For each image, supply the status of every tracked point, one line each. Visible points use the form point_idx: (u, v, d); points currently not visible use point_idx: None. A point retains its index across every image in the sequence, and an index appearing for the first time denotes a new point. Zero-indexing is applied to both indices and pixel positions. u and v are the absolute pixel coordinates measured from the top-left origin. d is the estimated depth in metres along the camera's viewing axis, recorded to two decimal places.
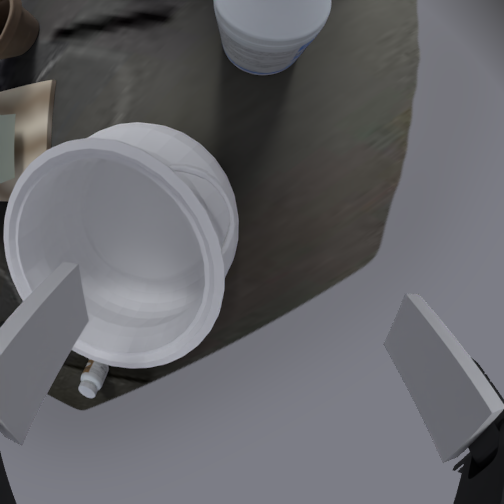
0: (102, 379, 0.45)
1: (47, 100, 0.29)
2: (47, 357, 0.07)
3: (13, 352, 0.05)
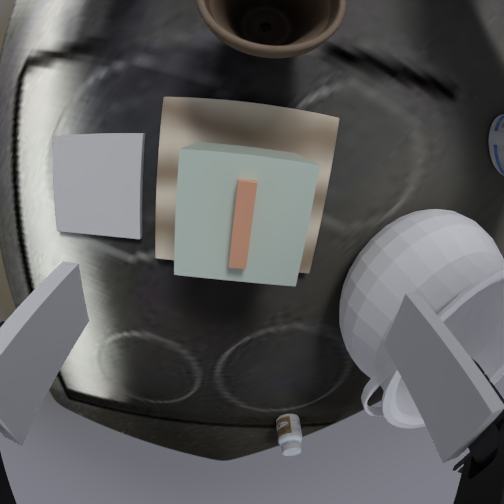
0: (301, 434, 0.45)
1: (331, 144, 0.28)
2: (47, 358, 0.07)
3: (13, 352, 0.05)
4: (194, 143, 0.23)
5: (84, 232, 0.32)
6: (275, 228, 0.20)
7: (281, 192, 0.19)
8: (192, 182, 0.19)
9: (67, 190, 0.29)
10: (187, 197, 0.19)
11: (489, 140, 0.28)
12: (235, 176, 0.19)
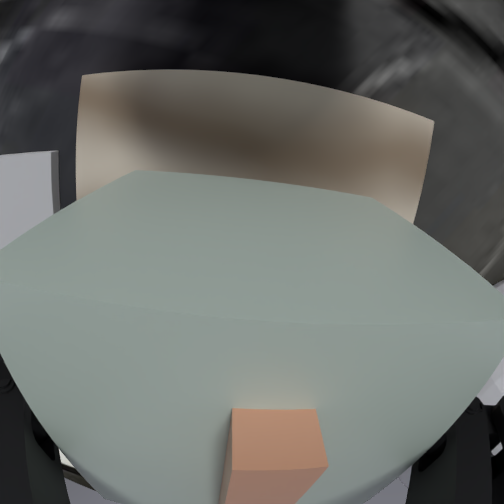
0: None
1: (419, 172, 0.13)
2: None
3: None
4: (112, 182, 0.08)
5: None
6: (345, 475, 0.05)
7: (394, 420, 0.04)
8: (55, 395, 0.04)
9: None
10: (61, 422, 0.04)
11: None
12: (218, 403, 0.04)
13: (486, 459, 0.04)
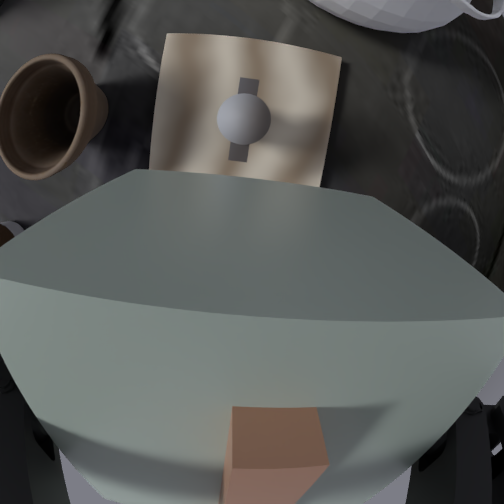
0: None
1: (195, 36, 0.23)
2: None
3: None
4: (112, 181, 0.08)
5: None
6: (346, 474, 0.05)
7: (394, 418, 0.04)
8: (54, 394, 0.04)
9: None
10: (60, 421, 0.04)
11: None
12: (218, 401, 0.04)
13: (486, 459, 0.04)
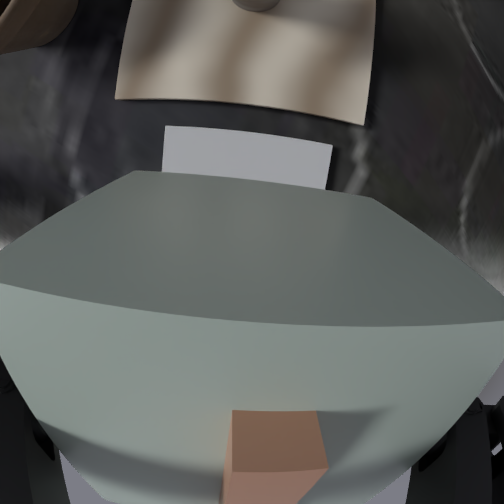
0: None
1: None
2: None
3: None
4: (112, 183, 0.08)
5: None
6: (345, 476, 0.05)
7: (394, 421, 0.04)
8: (54, 397, 0.04)
9: None
10: (60, 424, 0.04)
11: None
12: (218, 405, 0.04)
13: (486, 459, 0.04)
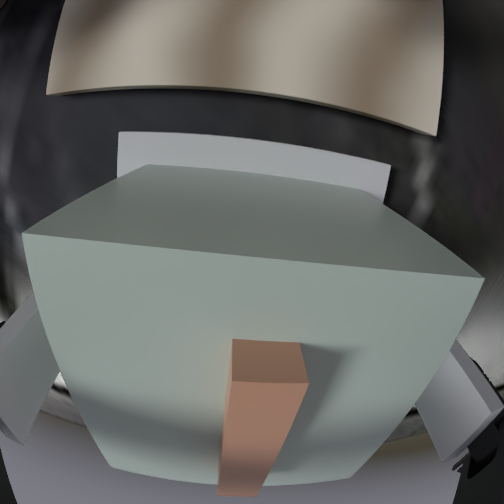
0: None
1: None
2: (48, 357, 0.07)
3: (14, 352, 0.06)
4: (129, 173, 0.09)
5: None
6: (333, 428, 0.07)
7: (369, 365, 0.06)
8: (83, 340, 0.05)
9: None
10: (83, 371, 0.05)
11: None
12: (221, 333, 0.05)
13: None
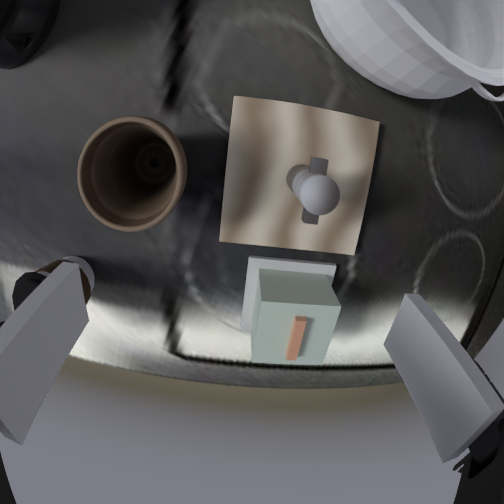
0: None
1: (259, 101, 0.31)
2: (47, 358, 0.07)
3: (13, 352, 0.05)
4: (259, 276, 0.37)
5: None
6: (313, 338, 0.34)
7: (318, 321, 0.33)
8: (268, 318, 0.33)
9: None
10: (264, 325, 0.33)
11: None
12: (293, 315, 0.33)
13: None
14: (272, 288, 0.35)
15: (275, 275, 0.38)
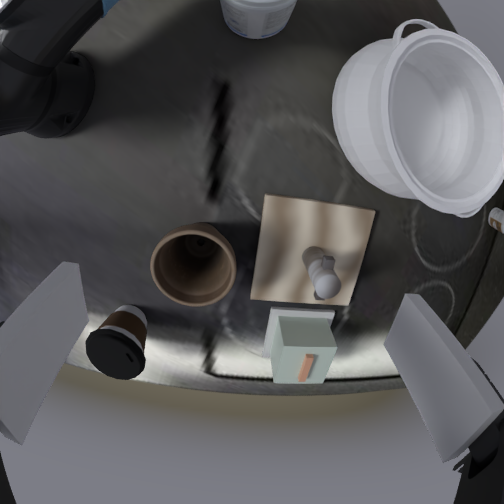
0: None
1: (285, 199, 0.43)
2: (47, 357, 0.07)
3: (13, 352, 0.05)
4: (280, 323, 0.50)
5: None
6: (317, 367, 0.47)
7: (321, 356, 0.46)
8: (287, 356, 0.46)
9: None
10: (284, 360, 0.46)
11: (257, 38, 0.34)
12: (304, 353, 0.46)
13: None
14: (290, 334, 0.48)
15: (290, 322, 0.51)
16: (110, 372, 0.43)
